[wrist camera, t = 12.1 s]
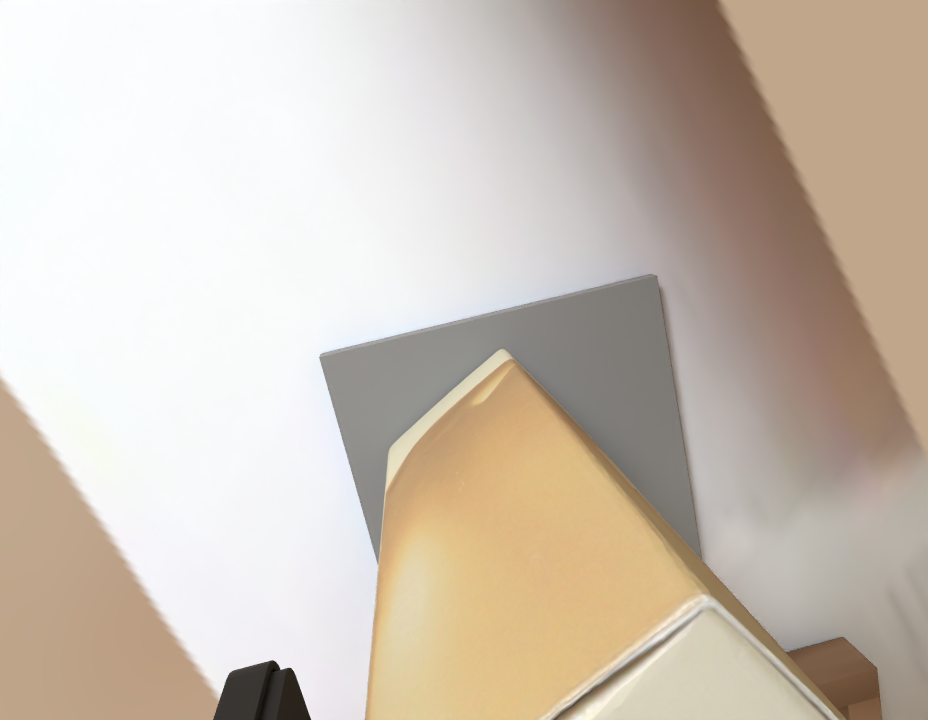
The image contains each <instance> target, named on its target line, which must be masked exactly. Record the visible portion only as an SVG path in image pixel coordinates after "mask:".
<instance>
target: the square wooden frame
mask: <svg viewBox="0 0 928 720" xmlns="http://www.w3.org/2000/svg"><path fill="white" fill-rule="evenodd" d="M787 654H788V656H789V657H790V658H791V659H792V660H793V661H794V662H795V663H796V664H797V665H798V667H799V668H800V669H801V670H802V671H803V672H804V673H805V674H806V675H807V676H808V678H809V679H810V680H811V681H812V682H813V683H814V684H815V685H816V686H817V687H818V689H819V690H820V691H821V692H822V693H823V694H824V695H825V696H826V697H827V698H828V700H829V701H830V702H831V703H832V704H833V705H834V706H835V707H836V708H837V709H838V711H839V712H840V713H841V714H842V715H843V716H844V717H845V718H846V719H847V720H882V715H881V704H880V694H879V683H878V673H877V668H876V667H875V666H874V665H873V664H872V663H871V662H870V661H869V660H868V659H867V658H865V657H864V656H863V655H862V654H861V653H860V652H859V651H858V650H857V649H856V648H855V647H854V646H852V645H851V644H850V643H849V642H848V641H847V640H846V639H845V638H844V637H841V638H837V639H834V640H830V641H826V642H823V643H819V644H816V645H812V646H808V647H805V648H801V649H797V650H794V651H790V652H787Z"/></svg>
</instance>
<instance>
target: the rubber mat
mask: <svg viewBox="0 0 928 720" xmlns="http://www.w3.org/2000/svg"><path fill="white" fill-rule="evenodd" d="M500 349H506V350H507V351H508V352H509V353H510V354H511V355H512V356H513V357H514V358H515V359H516V360H517V361H518V362H519V363H520V364H521V365H522V366H523V367H524V368H525V369H526V370H527V371H528V372H529V373H530V374H531V375H532V376H533V377H534V378H535V379H536V380H537V381H538V382H539V384H540V385H541V386H542V387H543V388H544V389H545V390H546V391H547V392H548V393H549V394H550V395H551V396H552V397H553V398H554V399H555V400H556V401H557V402H558V403H559V404H560V405H561V406H562V407H563V408H564V409H565V410H566V411H567V412H568V413H569V414H570V415H571V416H572V417H573V418H574V419H575V420H576V421H577V423H578V424H579V425H580V426H581V427H582V428H583V429H584V430H585V431H586V432H587V434H588V435H589V436H590V437H591V438H592V439H593V440H594V441H595V442H596V444H597V445H598V446H599V447H600V448H601V449H602V450H603V451H604V452H605V453H606V454H607V456H608V457H609V458H610V459H611V460H612V461H613V462H614V463H615V464H616V466H617V467H618V468H619V469H620V470H621V471H622V472H623V473H624V475H625V476H626V477H627V478H628V479H629V480H630V481H631V482H632V484H633V485H634V486H635V487H636V488H637V489H638V490H639V491H640V492H641V494H642V495H643V496H644V497H645V498H646V499H647V500H648V501H649V502H650V504H651V505H652V506H653V507H654V508H655V509H656V510H657V511H658V512H659V513H660V515H661V516H662V517H663V518H664V519H665V520H666V521H667V522H668V523H669V524H670V525H671V527H672V528H673V529H674V530H675V531H676V532H677V533H678V534H679V535H680V536H681V538H682V539H683V540H684V541H685V542H686V543H687V544H688V545H689V547H690V548H691V549H692V550H693V551H694V552H695V553H696V554H697V555H698V557H699V558H700V559H701V560H702V557H701V551H700V545H699V539H698V532H697V526H696V520H695V513H694V507H693V501H692V494H691V488H690V482H689V475H688V469H687V463H686V456H685V450H684V444H683V437H682V431H681V425H680V419H679V412H678V406H677V400H676V393H675V387H674V381H673V374H672V368H671V362H670V355H669V349H668V343H667V336H666V330H665V324H664V317H663V311H662V305H661V299H660V292H659V286H658V280H657V276H655V275H650V274H649V275H645V276H641V277H637V278H633V279H628V280H624V281H620V282H616V283H612V284H608V285H603V286H599V287H595V288H591V289H587V290H583V291H579V292H574V293H570V294H566V295H562V296H558V297H554V298H550V299H545V300H541V301H537V302H533V303H529V304H525V305H521V306H516V307H512V308H508V309H504V310H500V311H496V312H492V313H487V314H483V315H479V316H475V317H471V318H467V319H463V320H458V321H454V322H450V323H446V324H442V325H438V326H433V327H429V328H425V329H421V330H417V331H413V332H409V333H404V334H400V335H396V336H392V337H388V338H384V339H380V340H375V341H371V342H367V343H363V344H359V345H355V346H351V347H346V348H342V349H338V350H334V351H330V352H326V353H322V354H321V355H320V357H319V358H320V361H321V365H322V368H323V372H324V375H325V379H326V383H327V386H328V390H329V393H330V397H331V400H332V404H333V407H334V411H335V414H336V418H337V421H338V425H339V428H340V432H341V436H342V439H343V443H344V446H345V450H346V453H347V457H348V460H349V464H350V467H351V471H352V474H353V478H354V482H355V485H356V489H357V492H358V496H359V499H360V503H361V506H362V510H363V513H364V517H365V520H366V524H367V528H368V531H369V535H370V538H371V542H372V545H373V549H374V552H375V556H376V559H377V563H378V562H379V553H380V542H381V532H382V519H383V508H384V496H385V486H386V473H387V464H388V452H389V449H390V448H391V446H392V445H393V444H394V443H395V442H396V441H397V440H398V439H399V438H400V437H401V436H402V435H403V434H404V433H405V432H406V431H408V430H409V429H410V428H411V427H412V426H413V425H414V424H415V423H416V422H417V421H418V420H420V419H421V418H422V417H423V416H424V415H425V414H426V413H427V412H428V411H429V410H430V409H432V408H433V407H434V406H435V405H436V404H437V403H438V402H439V401H440V400H442V399H443V398H444V397H445V396H446V395H447V394H448V393H449V392H450V391H452V390H453V389H454V388H455V387H456V386H457V385H459V384H460V383H461V382H462V381H463V380H464V379H465V378H466V377H468V376H469V375H470V374H471V373H472V372H473V371H475V370H476V369H477V368H478V367H479V366H481V365H482V364H483V363H484V362H485V361H486V360H488V359H489V358H490V357H491V356H492V355H493V354H495V353H496V352H497V351H498V350H500Z"/></svg>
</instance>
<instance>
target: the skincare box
mask: <svg viewBox="0 0 928 720" xmlns="http://www.w3.org/2000/svg"><path fill="white" fill-rule="evenodd" d="M365 720H847V719H846V718H845V717H844V716H843V715H842V714H841V713H840V712H839V711H838V709H837V708H836V707H835V706H834V705H833V704H832V703H831V702H830V701H829V700H828V698H827V697H826V696H825V695H824V694H823V693H822V692H821V691H820V690H819V689H818V687H817V686H816V685H815V684H814V683H813V682H812V681H811V680H810V679H809V678H808V676H807V675H806V674H805V673H804V672H803V671H802V670H801V669H800V668H799V667H798V665H797V664H796V663H795V662H794V661H793V660H792V659H791V658H790V657H789V656H788V654H787V653H786V652H785V651H784V650H783V649H782V648H781V647H780V646H779V645H778V643H777V642H776V641H775V640H774V639H773V638H772V637H771V636H770V635H769V634H768V632H767V631H766V630H765V629H764V628H763V627H762V626H761V625H760V624H759V623H758V621H757V620H756V619H755V618H754V617H753V616H752V615H751V614H750V613H749V612H748V610H747V609H746V608H745V607H744V606H743V605H742V604H741V603H740V602H739V601H738V599H737V598H736V597H735V596H734V595H733V594H732V593H731V592H730V591H729V590H728V588H727V587H726V586H725V585H724V584H723V583H722V582H721V581H720V580H719V579H718V577H717V576H716V575H715V574H714V573H713V572H712V571H711V570H710V569H709V568H708V566H707V565H706V564H705V563H704V562H703V561H702V560H701V559H700V558H699V557H698V555H697V554H696V553H695V552H694V551H693V550H692V549H691V548H690V547H689V545H688V544H687V543H686V542H685V541H684V540H683V539H682V538H681V536H680V535H679V534H678V533H677V532H676V531H675V530H674V529H673V528H672V527H671V525H670V524H669V523H668V522H667V521H666V520H665V519H664V518H663V517H662V516H661V515H660V513H659V512H658V511H657V510H656V509H655V508H654V507H653V506H652V505H651V504H650V502H649V501H648V500H647V499H646V498H645V497H644V496H643V495H642V494H641V492H640V491H639V490H638V489H637V488H636V487H635V486H634V485H633V484H632V482H631V481H630V480H629V479H628V478H627V477H626V476H625V475H624V473H623V472H622V471H621V470H620V469H619V468H618V467H617V466H616V464H615V463H614V462H613V461H612V460H611V459H610V458H609V457H608V456H607V454H606V453H605V452H604V451H603V450H602V449H601V448H600V447H599V446H598V445H597V444H596V442H595V441H594V440H593V439H592V438H591V437H590V436H589V435H588V434H587V432H586V431H585V430H584V429H583V428H582V427H581V426H580V425H579V424H578V423H577V421H576V420H575V419H574V418H573V417H572V416H571V415H570V414H569V413H568V412H567V411H566V410H565V409H564V408H563V407H562V406H561V405H560V404H559V403H558V402H557V401H556V400H555V399H554V398H553V397H552V396H551V395H550V394H549V393H548V392H547V391H546V390H545V389H544V388H543V387H542V386H541V385H540V384H539V382H538V381H537V380H536V379H535V378H534V377H533V376H532V375H531V374H530V373H529V372H528V371H527V370H526V369H525V368H524V367H523V366H522V365H521V364H520V363H519V362H518V361H517V360H516V359H515V358H514V357H513V356H512V355H511V354H510V353H509V352H508V351H507V350H506V349H500V350H498V351H497V352H496V353H495V354H493V355H492V356H491V357H490V358H489V359H488V360H486V361H485V362H484V363H483V364H482V365H481V366H479V367H478V368H477V369H476V370H475V371H473V372H472V373H471V374H470V375H469V376H468V377H466V378H465V379H464V380H463V381H462V382H461V383H460V384H459V385H457V386H456V387H455V388H454V389H453V390H452V391H450V392H449V393H448V394H447V395H446V396H445V397H444V398H443V399H442V400H440V401H439V402H438V403H437V404H436V405H435V406H434V407H433V408H432V409H430V410H429V411H428V412H427V413H426V414H425V415H424V416H423V417H422V418H421V419H420V420H418V421H417V422H416V423H415V424H414V425H413V426H412V427H411V428H410V429H409V430H408V431H406V432H405V433H404V434H403V435H402V436H401V437H400V438H399V439H398V440H397V441H396V442H395V443H394V444H393V445H392V446H391V448H390V449H389V452H388V464H387V473H386V486H385V496H384V508H383V519H382V532H381V542H380V553H379V562H378V575H377V587H376V599H375V609H374V620H373V631H372V643H371V655H370V666H369V677H368V688H367V700H366V712H365Z"/></svg>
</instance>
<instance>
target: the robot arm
mask: <svg viewBox="0 0 928 720" xmlns="http://www.w3.org/2000/svg"><path fill="white" fill-rule="evenodd" d="M213 720H311V718H310V716H309V713H308V710H307V707H306V704H305V701H304V698H303V695H302V692H301V690H300V687H299V684H298V681H297V678H296V675H295V673H294V671H293V670H292V668H286V669H282V670H280V668H279V665H278V664H277V663H276V662H275V661H273V660H272V661H268V662H264V663H260V664H257V665H253V666H249V667H245V668H242V669H238V670H234V671H232V672H231V673H229V675H228V677H227V679H226V683H225V686H224V689H223V692H222V695H221V698H220V701H219V704H218V707H217V710H216V713H215V716H214V719H213Z"/></svg>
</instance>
